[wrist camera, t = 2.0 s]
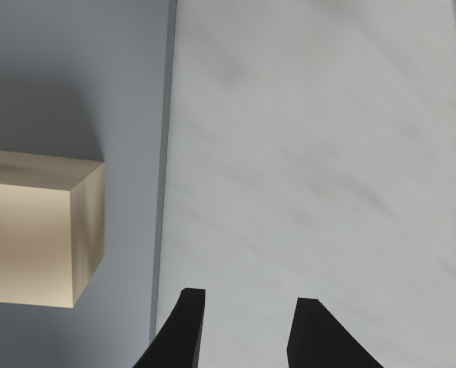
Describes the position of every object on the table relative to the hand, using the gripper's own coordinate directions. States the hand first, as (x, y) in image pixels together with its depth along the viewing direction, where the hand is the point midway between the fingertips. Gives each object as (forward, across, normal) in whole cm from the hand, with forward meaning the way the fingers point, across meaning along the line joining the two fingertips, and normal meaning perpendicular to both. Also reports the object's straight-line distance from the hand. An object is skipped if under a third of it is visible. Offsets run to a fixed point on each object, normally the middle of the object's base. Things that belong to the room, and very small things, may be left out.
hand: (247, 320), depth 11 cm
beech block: (+7, +9, 0) cm, 11 cm away
